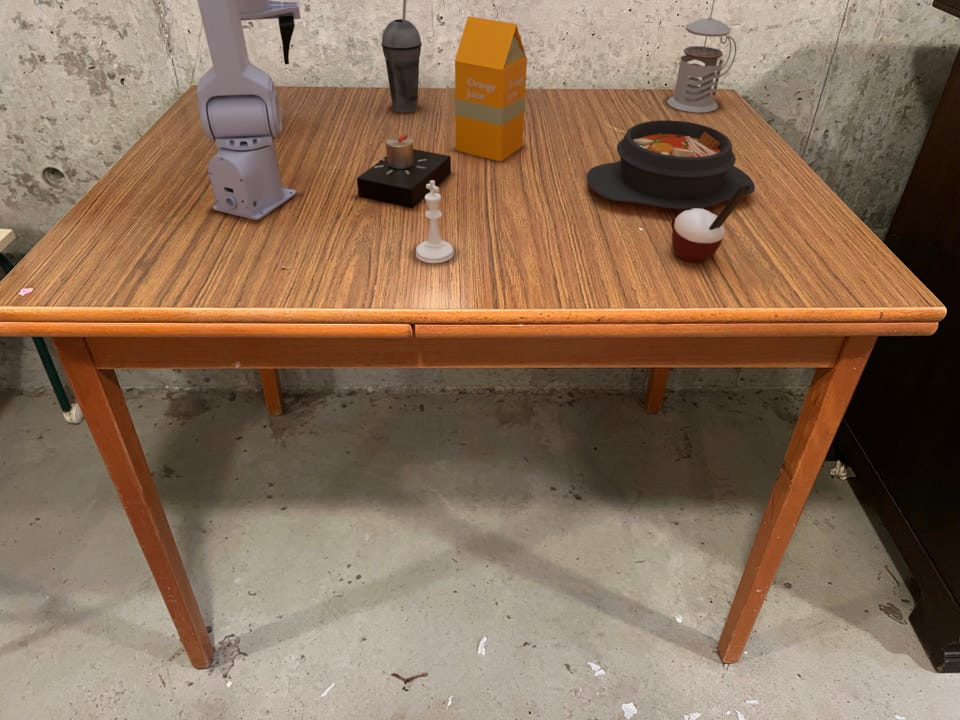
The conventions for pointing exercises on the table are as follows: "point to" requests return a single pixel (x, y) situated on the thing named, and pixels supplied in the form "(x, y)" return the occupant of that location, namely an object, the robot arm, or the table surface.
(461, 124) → the orange juice
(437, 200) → the chess piece
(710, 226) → the rice bowl
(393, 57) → the beverage cup
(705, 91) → the french press
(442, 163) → the hob panel
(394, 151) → the knob
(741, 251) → the table surface
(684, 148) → the casserole
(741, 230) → the table surface
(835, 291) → the table surface
